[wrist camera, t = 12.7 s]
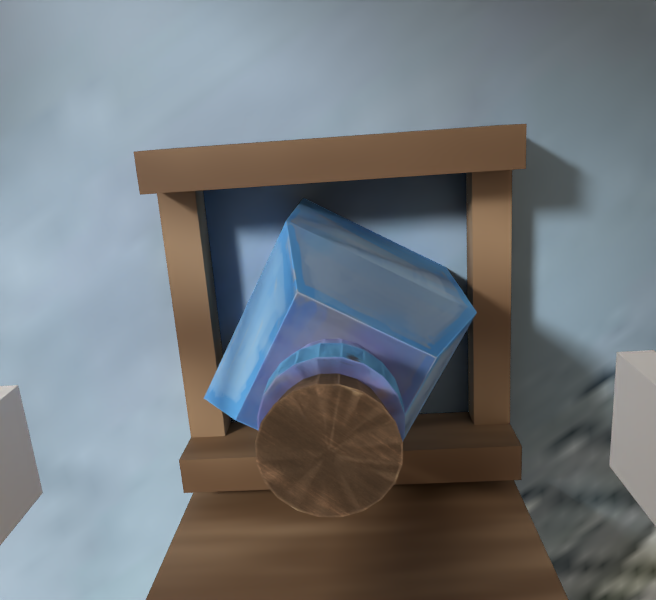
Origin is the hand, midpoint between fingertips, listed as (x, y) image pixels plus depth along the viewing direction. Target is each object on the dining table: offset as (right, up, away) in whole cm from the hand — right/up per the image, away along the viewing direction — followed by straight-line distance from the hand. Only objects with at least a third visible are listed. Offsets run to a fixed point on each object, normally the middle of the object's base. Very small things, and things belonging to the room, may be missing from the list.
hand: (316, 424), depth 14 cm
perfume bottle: (+1, +3, +11) cm, 12 cm away
